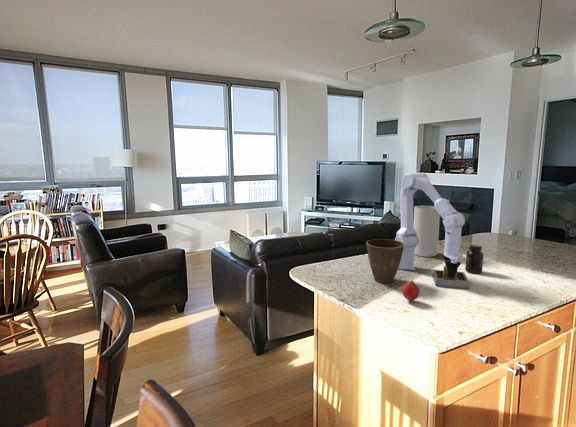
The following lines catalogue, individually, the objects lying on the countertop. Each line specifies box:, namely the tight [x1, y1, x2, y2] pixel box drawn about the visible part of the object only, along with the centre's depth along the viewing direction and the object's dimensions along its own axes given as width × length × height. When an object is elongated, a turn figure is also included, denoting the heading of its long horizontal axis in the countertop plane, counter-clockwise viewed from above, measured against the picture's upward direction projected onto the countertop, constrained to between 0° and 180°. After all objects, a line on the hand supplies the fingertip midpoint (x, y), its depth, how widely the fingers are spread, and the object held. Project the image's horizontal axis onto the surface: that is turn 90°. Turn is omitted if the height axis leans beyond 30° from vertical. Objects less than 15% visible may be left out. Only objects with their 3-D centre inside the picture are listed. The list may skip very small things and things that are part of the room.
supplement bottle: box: [464, 244, 485, 275], centre depth 158 cm, size 7×7×12 cm
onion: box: [401, 279, 421, 303], centre depth 126 cm, size 6×6×8 cm
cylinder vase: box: [413, 205, 441, 258], centre depth 186 cm, size 12×12×25 cm
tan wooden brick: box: [442, 265, 459, 279], centre depth 145 cm, size 5×2×6 cm, turn 73°
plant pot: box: [366, 238, 404, 284], centre depth 147 cm, size 15×15×16 cm
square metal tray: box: [432, 269, 470, 290], centre depth 145 cm, size 12×12×3 cm
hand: (450, 275), depth 145 cm, fingers open, 5 cm apart
